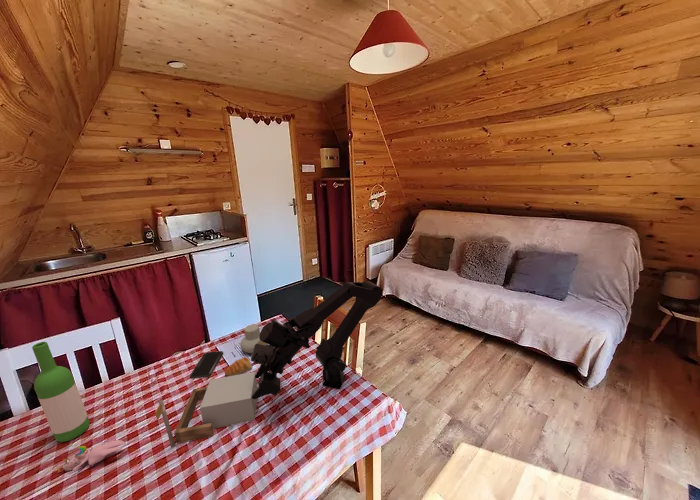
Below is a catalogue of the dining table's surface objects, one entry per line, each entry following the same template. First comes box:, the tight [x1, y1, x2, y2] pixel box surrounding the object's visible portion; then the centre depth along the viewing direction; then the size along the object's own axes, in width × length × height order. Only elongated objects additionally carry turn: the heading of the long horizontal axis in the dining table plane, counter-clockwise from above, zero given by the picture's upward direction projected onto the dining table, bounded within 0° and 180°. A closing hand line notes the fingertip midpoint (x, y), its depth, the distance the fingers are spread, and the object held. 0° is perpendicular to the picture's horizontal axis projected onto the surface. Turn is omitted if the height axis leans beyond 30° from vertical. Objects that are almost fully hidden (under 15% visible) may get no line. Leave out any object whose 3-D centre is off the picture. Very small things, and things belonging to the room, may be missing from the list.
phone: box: [189, 350, 224, 380], centre depth 116 cm, size 8×1×15 cm
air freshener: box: [239, 323, 268, 354], centre depth 123 cm, size 11×8×10 cm
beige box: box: [199, 371, 259, 430], centre depth 92 cm, size 14×12×8 cm
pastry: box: [224, 356, 253, 377], centre depth 111 cm, size 9×7×4 cm
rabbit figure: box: [57, 439, 126, 473], centre depth 78 cm, size 6×6×15 cm
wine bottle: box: [31, 341, 90, 443], centre depth 84 cm, size 8×8×30 cm
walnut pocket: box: [154, 386, 215, 449], centre depth 87 cm, size 11×21×15 cm, turn 11°
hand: (254, 387), depth 92 cm, fingers open, 9 cm apart
